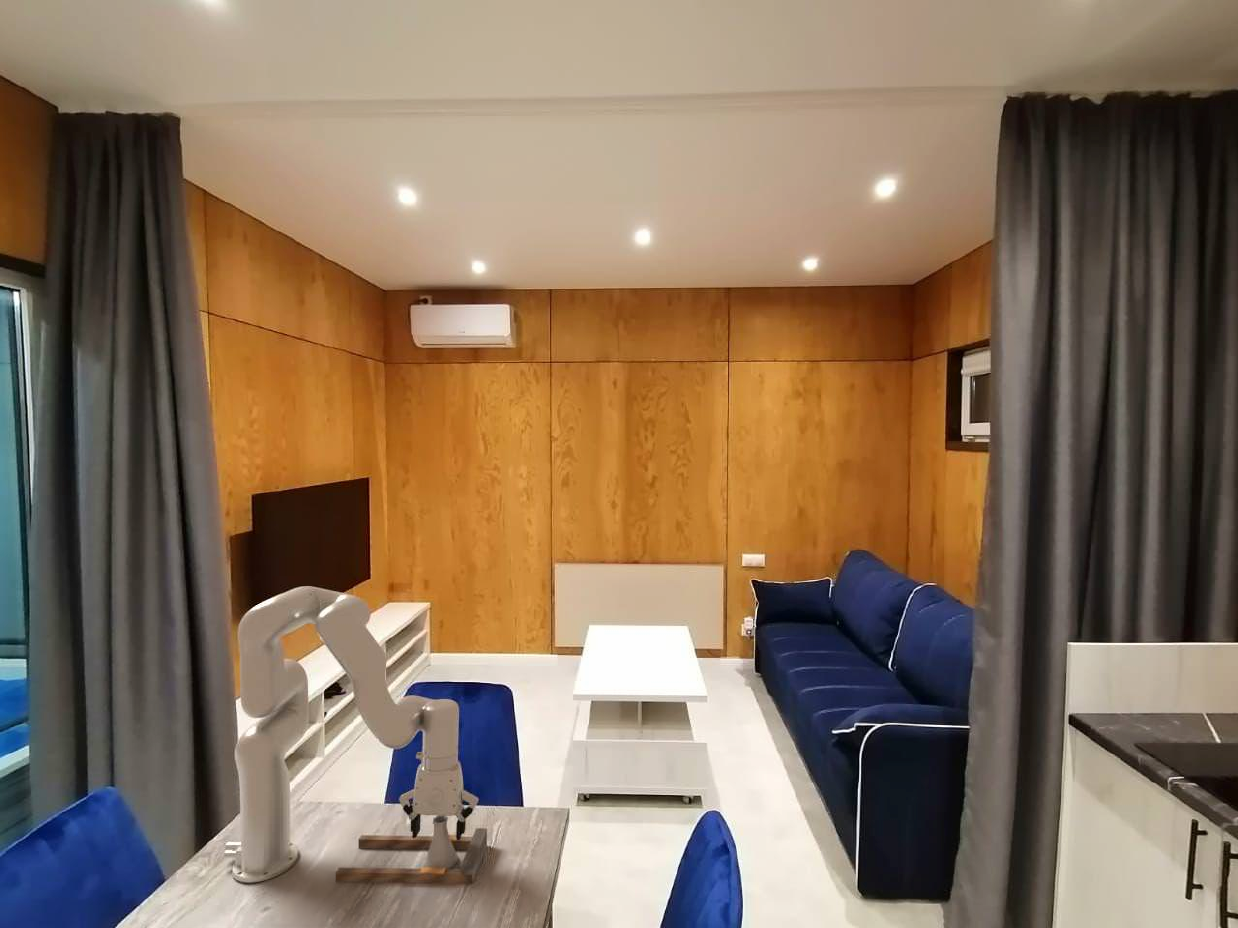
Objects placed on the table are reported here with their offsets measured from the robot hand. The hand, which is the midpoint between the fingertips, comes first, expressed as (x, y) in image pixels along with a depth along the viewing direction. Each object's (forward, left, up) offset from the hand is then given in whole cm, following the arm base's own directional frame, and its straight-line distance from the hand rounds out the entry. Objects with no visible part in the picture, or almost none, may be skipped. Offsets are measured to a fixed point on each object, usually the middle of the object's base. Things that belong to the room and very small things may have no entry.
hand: (437, 834), depth 135 cm
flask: (+1, 0, -7) cm, 7 cm away
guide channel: (-5, 0, -6) cm, 8 cm away
